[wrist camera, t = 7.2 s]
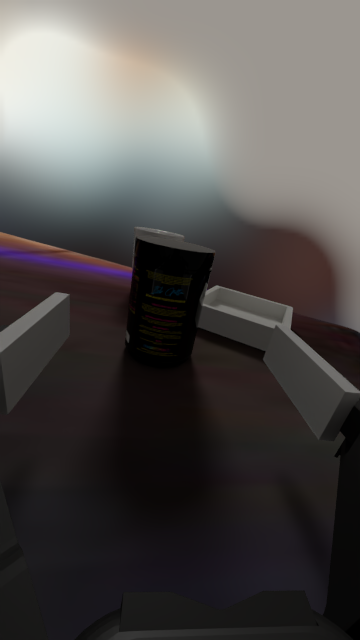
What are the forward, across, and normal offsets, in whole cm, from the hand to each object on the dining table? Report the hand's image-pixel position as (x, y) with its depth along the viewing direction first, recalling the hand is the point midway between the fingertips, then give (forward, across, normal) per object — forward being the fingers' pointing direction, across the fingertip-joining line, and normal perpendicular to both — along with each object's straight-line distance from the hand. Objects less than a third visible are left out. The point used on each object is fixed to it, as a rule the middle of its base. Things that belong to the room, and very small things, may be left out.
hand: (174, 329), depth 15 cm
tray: (+18, +12, -6) cm, 22 cm away
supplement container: (+7, 0, -6) cm, 9 cm away
